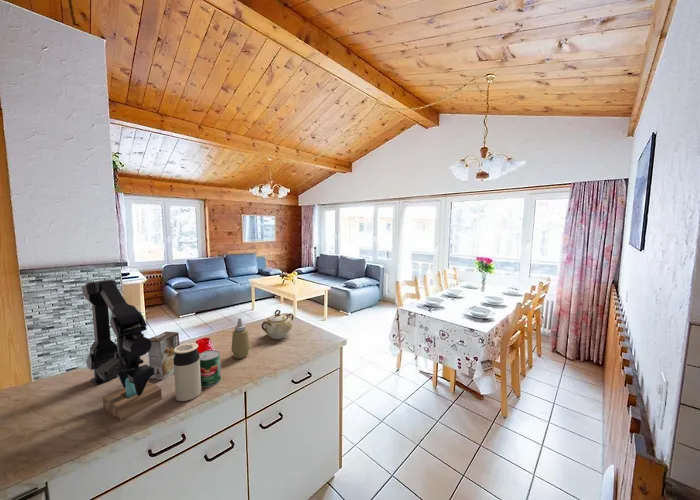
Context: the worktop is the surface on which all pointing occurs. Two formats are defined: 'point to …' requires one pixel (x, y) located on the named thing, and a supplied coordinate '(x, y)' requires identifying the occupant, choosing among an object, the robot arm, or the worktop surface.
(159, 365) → the coffee box
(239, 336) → the squeeze bottle
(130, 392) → the peg
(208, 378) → the canned tomato
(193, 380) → the travel mug
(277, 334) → the sugar bowl
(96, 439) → the worktop surface
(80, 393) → the worktop surface
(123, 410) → the socket block
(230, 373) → the worktop surface
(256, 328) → the worktop surface
